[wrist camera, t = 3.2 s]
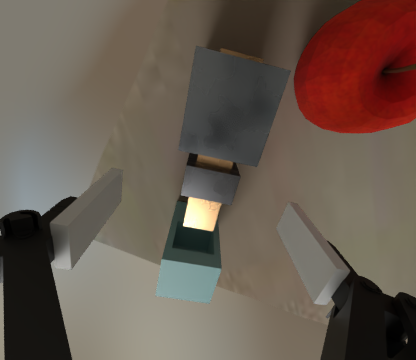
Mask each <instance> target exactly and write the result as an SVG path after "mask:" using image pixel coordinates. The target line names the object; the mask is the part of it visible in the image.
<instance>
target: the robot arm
mask: <svg viewBox="0 0 416 360" xmlns="http://www.w3.org/2000/svg"><path fill="white" fill-rule="evenodd" d="M122 174H123V170H121V169H116V168H111V169H110V170H109V171H108V172H107V173H106V174H105V175H103V176H102V177H101V178H100V179H99V180H98V181H97V182H95V183H94V184H93V185H92V186H91V187H90V188H89V189H88V190H86V191H85V192H84V193H83V194H82V195H81V196H80V197H79V198H77V197H71V196H70V197H68V198H66V199H63V200H61V201H60V202H59V203H58V204H56V205H55V206H54V207H52V208H51V209H50V211H47V212H46V213H45V214H44V215H42V216H41V215H40V213H39V212H36V211H34V210H20V211H16V212H12V213H9V214H7V215H5V216H4V217H2V218H1V219H0V231H1V235H2V236H0V283H3V291H4V350H5V351H4V352H5V360H72V357H71V352H70V348H69V343H68V339H67V334H66V330H65V326H64V321H63V317H62V312H61V308H60V303H59V299H58V295H57V290H56V286H55V281H54V277H53V273H52V268H51V264H50V263H51V262H52V261H53V260H54V262H55V268H62V269H69V270H72V268H73V267H74V266H75V264H76V263H77V261H78V260H79V259H80V257H81V256H82V254H83V253H84V252H85V250H86V249H87V248H88V246H89V245H90V243H91V242H92V241H93V239H94V238H95V237H96V235H97V234H98V232H99V231H100V230H101V228H102V227H103V226H104V224H105V223H106V221H107V220H108V219H109V217H110V216H111V215H112V213H113V212H114V210H115V209H116V208H117V206H118V205H119V203H120V202H121V193H122ZM276 229H277V231H278V233H279V235H280V237H281V239H282V241H283V243H284V245H285V247H286V249H287V251H288V253H289V255H290V257H291V259H292V261H293V263H294V265H295V267H296V269H297V271H298V273H299V275H300V277H301V279H302V281H303V283H304V285H305V287H306V289H307V291H308V293H309V295H310V297H311V299H312V301H313V303H314V304H322V305H327V303H328V302H329V300H330V299H331V298H332V300H333V301H334V303H335V305H334V306H333V308H332V309H331V311H330V312H329V313H328V315H327V316H326V318H329V317H330V320H329V324H328V329H327V333H326V337H325V342H324V346H323V351H322V355H321V360H416V298H415V297H413V296H411V295H409V294H406V293H403V292H399V293H398V294H397V295H396V296H395V298H394V297H391V296H389V295H386V294H384V293H382V291H381V289H380V288H379V287H378V286H377V285H376V284H375V283H373V282H372V281H370V280H369V279H367V278H365V277H362V276H358V274H357V273H356V272H355V271H354V269H353V268H352V267H351V266H350V265H349V263H348V262H347V261H346V260H345V259H344V257H343V256H342V255H341V254H340V252H339V251H338V250H337V249H336V247H335V246H334V245H332V244H331V243H330V242H329V241H326V239H325V238H324V237H323V236H322V234H321V233H320V232H319V231H318V229H317V228H316V227H315V226H314V224H313V223H312V222H311V221H310V219H309V218H308V217H307V215H306V214H305V213H304V212H303V210H302V209H301V208H300V207H299V205H298V204H297V203H292V202H288V204H287V206H286V208H285V210H284V213H283V215H282V217H281V219H280V221H279V224H278V226H277V228H276ZM407 338H408V342H407V344H406V341H405V340H406V339H407Z"/></svg>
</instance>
